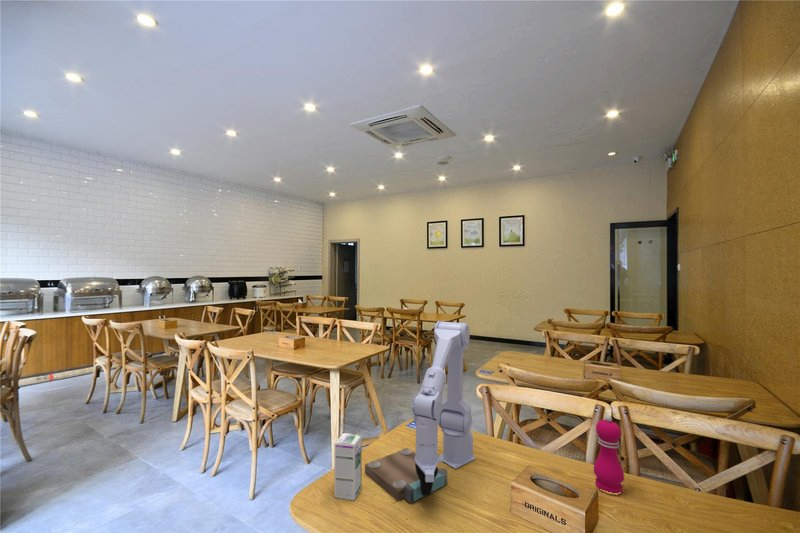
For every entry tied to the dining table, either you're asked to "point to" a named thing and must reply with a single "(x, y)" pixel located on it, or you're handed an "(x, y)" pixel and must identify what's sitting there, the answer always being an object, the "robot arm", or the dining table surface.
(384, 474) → the stool seat
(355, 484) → the syrup box
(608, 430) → the pepper mill
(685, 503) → the dining table surface
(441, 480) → the stool leg
